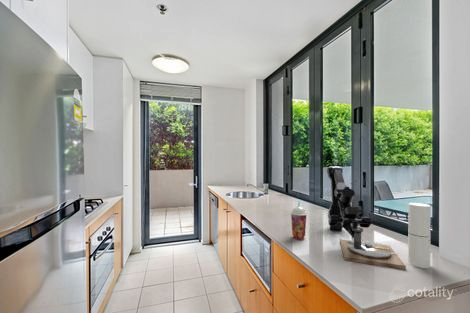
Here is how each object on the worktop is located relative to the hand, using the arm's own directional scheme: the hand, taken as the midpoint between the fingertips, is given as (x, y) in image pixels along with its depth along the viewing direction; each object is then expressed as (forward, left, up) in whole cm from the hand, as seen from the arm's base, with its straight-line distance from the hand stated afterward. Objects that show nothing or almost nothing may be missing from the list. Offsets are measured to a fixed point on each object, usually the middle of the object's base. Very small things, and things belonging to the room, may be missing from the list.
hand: (354, 237), depth 102 cm
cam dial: (+6, +2, -5) cm, 9 cm away
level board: (+6, +2, -7) cm, 10 cm away
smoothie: (-26, +11, -7) cm, 29 cm away
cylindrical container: (+24, -1, -7) cm, 25 cm away
